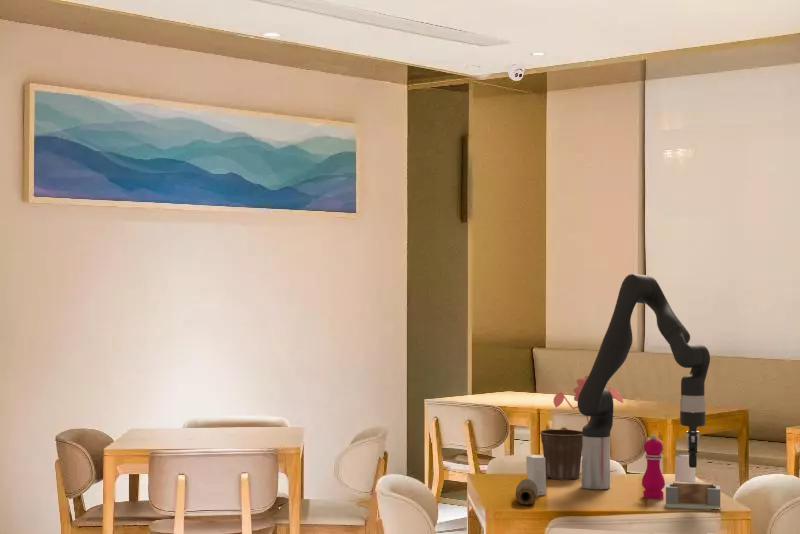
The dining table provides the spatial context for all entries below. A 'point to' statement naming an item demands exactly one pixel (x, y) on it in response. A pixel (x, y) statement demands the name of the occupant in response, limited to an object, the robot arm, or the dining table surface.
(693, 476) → the can
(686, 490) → the slat
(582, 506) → the dining table surface
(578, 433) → the plant pot
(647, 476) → the pepper mill
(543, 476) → the skincare box
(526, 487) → the brown twine roll
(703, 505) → the holder
